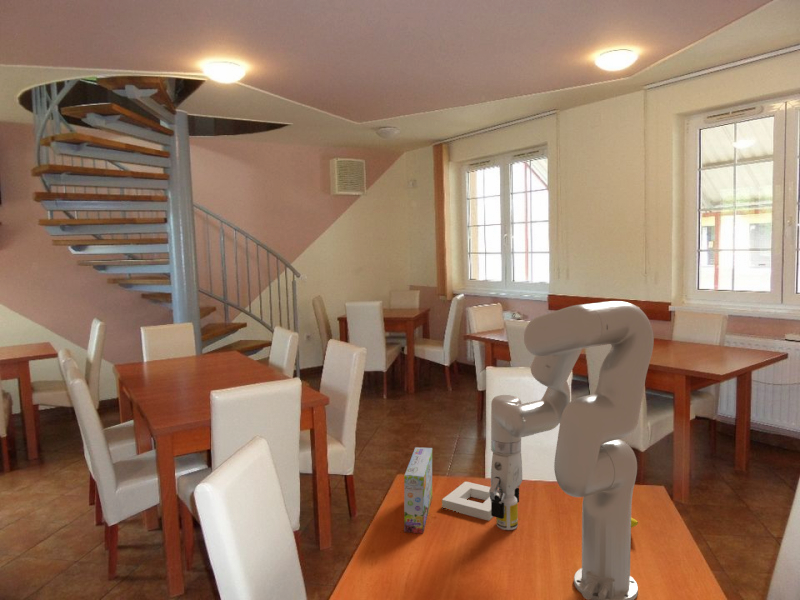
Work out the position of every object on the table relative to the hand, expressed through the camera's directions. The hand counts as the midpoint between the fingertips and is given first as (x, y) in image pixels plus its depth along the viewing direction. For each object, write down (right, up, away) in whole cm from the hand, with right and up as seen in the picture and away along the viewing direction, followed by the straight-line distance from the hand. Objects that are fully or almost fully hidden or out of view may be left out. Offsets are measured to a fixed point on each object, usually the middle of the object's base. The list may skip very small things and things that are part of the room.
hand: (505, 509), depth 148 cm
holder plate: (-6, -3, +12) cm, 14 cm away
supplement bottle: (0, -4, 0) cm, 4 cm away
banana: (+29, -4, 0) cm, 29 cm away
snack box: (-22, -4, +7) cm, 23 cm away
